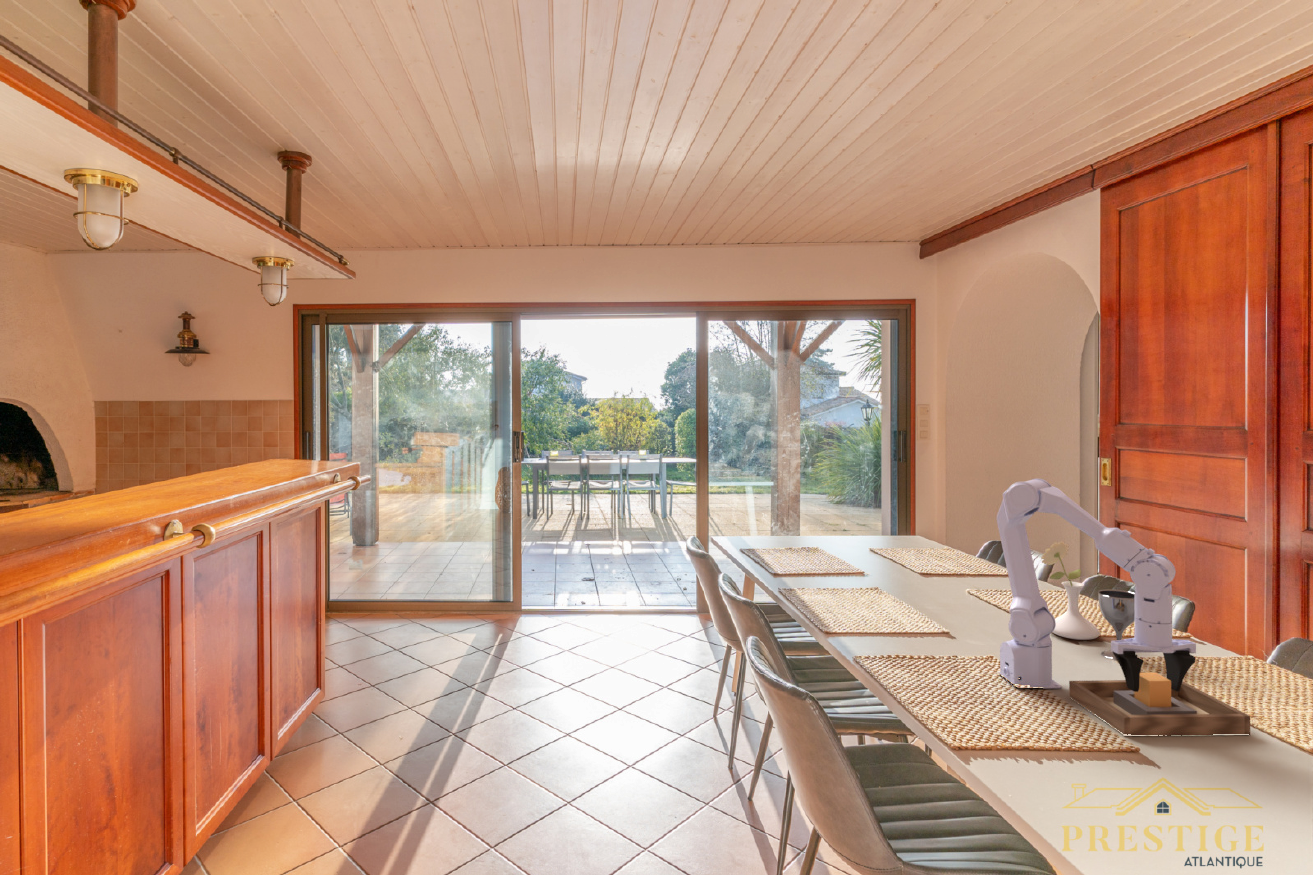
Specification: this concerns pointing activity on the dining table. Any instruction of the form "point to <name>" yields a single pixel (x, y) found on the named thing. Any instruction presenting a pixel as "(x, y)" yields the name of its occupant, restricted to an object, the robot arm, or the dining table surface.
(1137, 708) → the frame
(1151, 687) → the block
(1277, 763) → the dining table surface
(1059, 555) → the flower in vase
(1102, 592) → the wine glass
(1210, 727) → the walled box
